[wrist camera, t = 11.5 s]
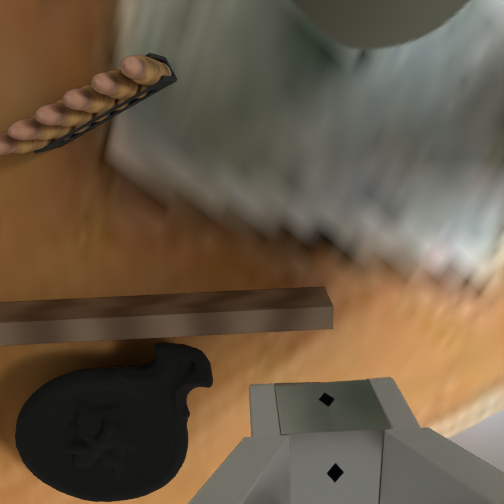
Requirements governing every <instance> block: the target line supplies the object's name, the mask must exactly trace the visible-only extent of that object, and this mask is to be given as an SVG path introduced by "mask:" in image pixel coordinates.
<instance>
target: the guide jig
mask: <svg viewBox="0 0 504 504" xmlns="http://www.w3.org/2000/svg"><path fill="white" fill-rule="evenodd" d="M320 329H333V305H332V303H331V300H330V298H329V296H328V294H327V292H326V289H325V287H308V288H287V289H267V290H246V291H225V292H205V293H184V294H164V295H143V296H123V297H102V298H82V299H61V300H41V301H20V302H0V346H3V345H22V344H42V343H62V342H82V341H102V340H121V339H141V338H161V337H181V336H201V335H221V334H240V333H260V332H280V331H300V330H320Z"/></svg>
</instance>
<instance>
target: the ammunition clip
mask: <svg viewBox="0 0 504 504" xmlns="http://www.w3.org/2000/svg"><path fill="white" fill-rule="evenodd" d="M120 69H121V70H119V71H117V70H112V71H109V72H106V73H105V72H104V73H99V74H97V75H95V76H94V77H93V78H92V79H91V85H86V86H83V87H81V88H77V89H72V90H69V91H68V92H66V93H65V94H64V95H63V97H62V100H59V101H58V102H56V103H52V104H47V105H44V106H42V107H40V108H39V109H38V110H37V111H36V112H35V115H34V116H32V117H29V118H26V119H21V120H19V121H16V122H15V123H13V124H12V125H11V126H10V127H9V128H8V130H7V131H6V132H2V133H0V155H4V154H11V153H18V154H22V153H28V152H31V151H34V152H35V154H37V153H41V152H44V151H47V150H51V149H54V148H58V147H61V146H63V145H65V144H67V143H69V142H70V141H72V140H74V139H76V138H77V137H79V136H81V135H83V134H84V133H86V132H88V131H90V130H91V129H93V128H95V127H97V126H98V125H100V124H102V123H104V122H105V121H107V120H109V119H111V118H112V117H114V116H116V115H118V114H119V113H121V112H123V111H125V110H126V109H128V108H130V107H132V106H133V105H135V104H137V103H139V102H140V101H142V100H144V99H146V98H147V97H149V96H151V95H153V94H154V93H156V92H158V91H160V90H161V89H163V88H165V87H167V86H168V85H170V84H172V83H174V82H175V81H177V78H176V76H175V74H174V72H173V71H172V69H171V67H170V65H169V63H168V61H167V60H166V58H165V57H162V56H159V55H155V54H152V53H149V54H147V55H145V56H142V55H138V56H129V57H125V58H124V59H122V61H121V62H120Z"/></svg>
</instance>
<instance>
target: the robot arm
mask: <svg viewBox="0 0 504 504" xmlns="http://www.w3.org/2000/svg"><path fill="white" fill-rule="evenodd" d="M249 399H250V421H251V437H245V438H243V439H242V441H241V442H240V443H239V444H238V445H237V446H236V448H235V449H234V450H233V451H232V452H231V454H230V455H229V456H228V457H227V458H226V459H225V461H224V462H223V463H222V464H221V465H220V466H219V468H218V469H217V470H216V471H215V472H214V473H213V475H212V476H211V477H210V478H209V479H208V481H207V482H206V483H205V484H204V485H203V486H202V488H201V489H200V490H199V491H198V492H197V493H196V495H195V496H194V497H193V498H192V499H191V501H190V502H189V503H188V504H504V472H502V471H501V470H499V469H497V468H496V467H494V466H492V465H491V464H489V463H487V462H486V461H484V460H482V459H481V458H479V457H477V456H476V455H474V454H472V453H470V452H469V451H467V450H466V449H464V448H462V447H460V446H459V445H457V444H455V443H454V442H452V441H450V440H449V439H447V438H445V437H444V436H442V435H440V434H439V433H437V432H435V431H433V430H432V429H430V428H421V427H420V425H419V423H418V421H417V420H416V418H415V416H414V414H413V413H412V411H411V409H410V407H409V405H408V404H407V402H406V400H405V398H404V397H403V395H402V393H401V391H400V390H399V388H398V386H397V384H396V383H395V381H394V379H392V378H391V377H383V378H372V379H366V380H351V381H336V382H303V383H274V385H273V384H272V383H270V384H251V385H250V386H249Z"/></svg>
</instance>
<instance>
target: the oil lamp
mask: <svg viewBox="0 0 504 504" xmlns="http://www.w3.org/2000/svg"><path fill="white" fill-rule="evenodd" d="M154 350H155V359H154V360H152V361H150V362H148V363H145V364H139V365H132V366H122V367H118V368H90V369H82V370H77V371H73V372H70V373H67V374H65V375H62V376H59V377H57V378H55V379H53V380H51V381H49V382H47V383H46V384H44V385H43V386H41V387H40V388H39V389H38V390H36V391H35V392H34V393H33V394H32V395H31V397H30V398H29V399H28V400H27V401H26V403H25V404H24V406H23V407H22V409H21V412H20V413H19V416H18V419H17V424H16V435H15V439H16V447H17V449H18V451H19V454H20V456H21V458H22V461H23V463H24V464H25V465H26V467H27V468H28V469H29V470H30V471H31V472H32V473H33V474H34V475H35V476H36V477H37V478H38V479H40V480H41V481H42V482H43V483H45V484H47V485H49V486H51V487H52V488H54V489H56V490H58V491H60V492H63V493H65V494H67V495H70V496H73V497H77V498H80V499H83V500H88V501H95V502H100V501H103V502H112V501H121V500H128V499H134V498H138V497H141V496H145V495H147V494H150V493H151V492H154V491H156V490H158V489H160V488H162V487H163V486H165V485H166V484H167V483H169V482H170V481H171V480H172V479H173V478H174V477H175V476H176V474H177V473H178V471H179V469H180V468H181V466H182V464H183V463H184V460H185V457H186V453H187V448H188V430H187V421H188V417H189V416H190V412H189V410H188V407H187V401H186V399H187V395H188V393H189V392H190V391H191V390H192V389H194V388H196V387H208V388H209V387H211V386H212V384H213V376H212V371H211V365H210V362H209V360H208V358H207V357H206V356H205V354H204V353H203V352H202V351H201V350H199V349H197V348H193V347H190V346H187V345H184V344H174V343H158V344H155V346H154Z"/></svg>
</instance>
